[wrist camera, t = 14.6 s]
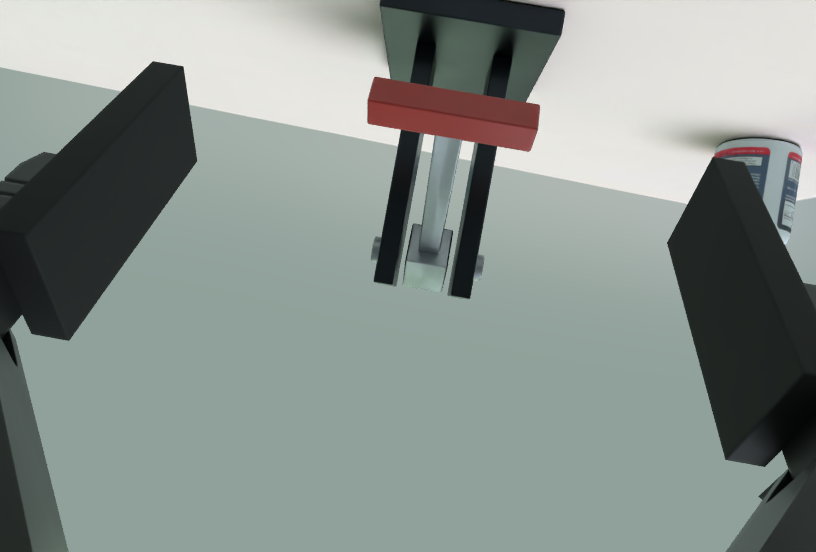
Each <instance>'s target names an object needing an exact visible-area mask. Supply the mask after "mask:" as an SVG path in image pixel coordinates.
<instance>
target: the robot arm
mask: <svg viewBox="0 0 816 552" xmlns="http://www.w3.org/2000/svg"><path fill="white" fill-rule="evenodd" d="M196 162H197V157H196V150H195V143H194V137H193V129H192V122H191V116H190V109H189V102H188V95H187V88H186V82H185V75H184V68H183V66H177V65H172V64H166V63H160V62H154V61H153V62H152V63H151V64H150V65H149V66H148V67H147V68H146V69H145V70H143V71H142V72H141V73H140V74H139V75H138V76H137V77H136V78H135V79H134V80H133V81H132V82H131V83H130V84H129V85H128V86H127V87H126V88H125V89H124V90H123V91H122V92H121V93H120V94H119V95H118V96H117V97H116V98H114V100H112V101H111V102H110V103H109V104H108V105H107V106H106V107H105V108H104V109H103V110H102V111H101V112H100V113H99V114H98V115H97V116H96V117H95V118H94V119H93V120H92V121H91V122H90V123H89V124H88V125H86V126H85V127H84V128H83V129H82V130H81V131H80V132H79V133H78V134H77V135H76V136H75V137H74V138H73V139H72V140H71V141H70V142H69V143H68V144H67V145H66V146H65V147H64V148H63V149H62V150H61V151H60V152H59V153H57V154H52V153H46V152H43V153H41V154H39V155H37V156H35V157H33V158H30V159H28V160H27V161H24V162H22V163H20V164H19V165H18V166H17V167H16V168H15V169H14V170H13V171H12V172H10V173H9V174H8V175H7V176H6V177H5V181H1V182H0V552H68V548H67V544H66V540H65V536H64V532H63V528H62V524H61V520H60V516H59V512H58V508H57V504H56V500H55V496H54V492H53V488H52V484H51V480H50V476H49V472H48V468H47V464H46V460H45V456H44V451H43V447H42V443H41V439H40V435H39V432H38V427H37V423H36V420H35V415H34V411H33V407H32V403H31V400H30V395H29V391H28V387H27V384H26V379H25V375H24V371H23V367H22V363H21V359H20V355H19V351H18V347H17V344H16V339H15V337H14V335H13V333H12V331H11V329H10V328H11V327H12V326H13V325H14V324H15V322H16V321H17V320H18V319H19V317H20V316H21V315H22V314H23V316H24V319H25V321H26V323H27V325H28V327H29V329H30V331H31V333H32V334H35V335H41V336H46V337H52V338H57V339H62V340H68V341H69V340H70V339H71V337H72V336H73V334H74V333H75V332H76V330H77V329H78V328H79V326H80V325H81V323H82V322H83V321H84V319H85V318H86V316H87V315H88V313H89V312H90V311H91V309H92V308H93V306H94V305H95V304H96V302H97V300H98V299H99V298H100V296H101V295H102V294H103V292H104V291H105V290H106V288H107V287H108V285H109V284H110V283H111V281H112V280H113V278H114V277H115V275H116V274H117V273H118V271H119V270H120V269H121V267H122V266H123V264H124V263H125V261H126V260H127V259H128V257H129V256H130V254H131V253H132V252H133V250H134V249H135V248H136V246H137V245H138V243H139V242H140V241H141V239H142V238H143V236H144V235H145V233H146V232H147V231H148V229H149V228H150V227H151V225H152V224H153V222H154V221H155V220H156V218H157V217H158V215H159V214H160V213H161V211H162V210H163V208H164V207H165V205H166V204H167V203H168V201H169V200H170V199H171V197H172V196H173V194H174V193H175V191H176V190H177V189H178V187H179V186H180V184H181V183H182V182H183V180H184V179H185V177H186V176H187V174H188V173H189V172H190V170H191V169H192V168H193V166H194V165H195V163H196ZM667 244H668V248H669V251H670V255H671V258H672V263H673V266H674V270H675V274H676V277H677V281H678V285H679V289H680V292H681V296H682V300H683V303H684V307H685V311H686V314H687V318H688V322H689V326H690V329H691V333H692V337H693V341H694V344H695V348H696V352H697V355H698V359H699V363H700V366H701V370H702V374H703V377H704V382H705V385H706V389H707V393H708V396H709V400H710V404H711V407H712V411H713V415H714V419H715V422H716V426H717V430H718V433H719V437H720V441H721V445H722V448H723V452H724V456H725V459H726V460H730V461H736V462H741V463H747V464H752V465H758V466H764V467H765V466H766V465H767V464H768V463H769V462H770V461H771V460H772V459H773V458H774V457H775V456H776V455H777V454H778V453H779V452H780V451H781V450H782V451H783V455H784V457H785V460H786V463H787V466H788V469H787V470H786V471H785V472H784V473H783V474H782V475H781V476H780V477H779V478H778V479H777V480H776V481H775V482H774V483H772V484H771V485H770V486H769V487H768V488H767V489H766V490H765V491H764V492H763V493H762V494H761V495H760V496H759V497H760V498H761V499H762V502H761V503H760V505H759V506H758V507H757V509H756V510H755V512H754V513H753V514H752V516H751V517H750V519H749V520H748V521H747V523H746V524H745V526H744V527H743V528H742V530H741V531H740V533H739V534H738V535H737V537H736V538H735V540H734V541H733V542H732V544H731V545H730V547H729V548H728V549H727V551H726V552H816V285H812V284H805V283H803V282H802V280H801V278H800V276H799V273H798V272H797V269H796V267H795V265H794V263H793V261H792V259H791V257H790V255H789V253H788V251H787V249H786V247H785V245H784V243H783V241H782V238H781V236H780V234H779V232H778V230H777V228H776V226H775V224H774V222H773V220H772V218H771V216H770V214H769V212H768V210H767V208H766V205H765V203H764V201H763V199H762V197H761V195H760V193H759V191H758V189H757V187H756V185H755V183H754V181H753V179H752V177H751V175H750V173H749V170H748V168H747V166H746V164H745V162H740V161H734V160H729V159H723V158H717V157H713V158H712V160H711V161H710V163H709V165H708V167H707V169H706V171H705V173H704V175H703V176H702V178H701V180H700V182H699V184H698V186H697V188H696V190H695V192H694V193H693V195H692V197H691V199H690V201H689V203H688V205H687V207H686V208H685V210H684V212H683V214H682V216H681V218H680V220H679V222H678V224H677V225H676V227H675V229H674V231H673V233H672V235H671V237H670V239H669V240H668V242H667Z"/></svg>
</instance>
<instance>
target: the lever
mask: <svg viewBox="0 0 816 552" xmlns="http://www.w3.org/2000/svg"><path fill="white" fill-rule="evenodd" d="M539 113H540V105H538V104H532V103H527V102H521V101H515V100H509V99H503V98H497V97H491V96H485V95H480V94H474V93H468V92H462V91H456V90H450V89H444V88H439V87H433V86H427V85H421V84H415V83H409V82H403V81H397V80H392V79H386V78H380V77H374V79H373V83H372V86H371V90H370V93H369V97H368V118H367V122H368V124H372V125H377V126H383V127H389V128H395V129H401V130H406V131H412V132H418V133H424V134H430V135H435V138H434V145H433V151H432V158H431V166H430V172H429V179H428V186H427V193H426V200H425V207H424V214H423V220H422V225H420V224H413V225H412V230H411V235H410V240H409V245H408V250H407V255H406V260H405V270H404V278H403V285H404V286H409V287H415V288H420V289H425V290H431V291H437V292H441V291H442V288H443V284H444V279H445V275H446V271H447V266H448V260H449V254H450V248H451V242H452V235H453V231H452V230H447V229H444V226H445V222H446V217H447V212H448V207H449V202H450V197H451V192H452V187H453V182H454V177H455V173H456V168H457V163H458V158H459V153H460V148H461V143H462V140H464V141H470V142H476V143H482V144H487V145H493V146H499V147H505V148H511V149H516V150H522V151H528V152H529V151H530V150H531V148H532V145H533V142H534V139H535V136H536V134H537V131H538V124H539Z"/></svg>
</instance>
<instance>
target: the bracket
mask: <svg viewBox="0 0 816 552" xmlns="http://www.w3.org/2000/svg"><path fill="white" fill-rule="evenodd" d="M380 11H381V18H382V25H383V31H384V38H385V45H386V52H387V58H388V65H389V72H390V78H391V79H392V80H397V81H403V82H409V83H415V84H421V85H427V86H433V87H439V88H444V89H450V90H456V91H462V92H468V93H474V94H480V95H485V96H491V97H497V98H503V99H509V100H515V101H521V102H526V100H527V99H528V97H529V95H530V93H531V91H532V89H533V87H534V85H535V83H536V82H537V80H538V78H539V76H540V74H541V72H542V70H543V68H544V67H545V65H546V63H547V61H548V59H549V57H550V55H551V53H552V52H553V50H554V48H555V46H556V44H557V42H558V40H559V38H560V37H561V34H562V28H563V23H564V17H565V11H561V10H555V9H549V8H543V7H537V6H531V5H525V4H519V3H513V2H507V1H501V0H380ZM423 136H424V133H418V132H412V131H406V130H401V133H400V138H399V144H398V150H397V155H396V160H395V166H394V171H393V177H392V182H391V188H390V193H389V199H388V204H387V210H386V215H385V221H384V226H383V232H382V237H375V239H374V243H373V248H372V255H371V261H372V262H377V265H376V270H375V276H374V282H376V283H379V284H384V285H390V286H396V285H397V279H398V273H399V268H400V262H401V257H402V251H403V246H404V241H405V235H406V230H407V224H408V218H409V213H410V208H411V201H412V197H413V191H414V186H415V180H416V174H417V169H418V163H419V158H420V152H421V147H422V141H423ZM496 150H497V146H493V145H487V144H482V143H476V142H475V143H474V149H473V154H472V160H471V166H470V171H469V177H468V182H467V188H466V194H465V199H464V205H463V210H462V216H461V222H460V227H459V233H458V239H457V245H456V250H455V256H454V261H453V267H452V272H451V278H450V283H449V289H448V296H451V297H456V298H462V299H470V296H471V290H472V285H473V280H478V281H479V280H480V278H481V275H482V270H483V264H484V256H483V255H478V250H479V245H480V240H481V234H482V229H483V223H484V217H485V212H486V206H487V200H488V195H489V189H490V183H491V178H492V172H493V167H494V161H495V155H496Z"/></svg>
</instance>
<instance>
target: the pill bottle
mask: <svg viewBox="0 0 816 552" xmlns="http://www.w3.org/2000/svg"><path fill="white" fill-rule="evenodd" d="M714 157H717V158H723V159H729V160H734V161H740V162H745V164H746V166H747V168H748V170H749V173H750V175H751V177H752V179H753V181H754V183H755V185H756V187H757V189H758V191H759V193H760V195H761V197H762V199H763V201H764V203H765V205H766V208H767V210H768V212H769V214H770V216H771V218H772V220H773V222H774V224H775V226H776V228H777V230H778V232H779V234H780V236H781V238H782V241H783V243H784V245H785V244H786V243H787V242H788V240H789V237H790V233H791V227H792V221H793V214H794V208H795V202H796V195H797V189H798V182H799V176H800V169H801V162H802V150H801V149H800V148H799V147H798V146H796V145H794V144H791V143H788V142H784V141H779V140H772V139H755V138H754V139H738V140H732V141H728V142H725V143H723V144H721V145H719V146H718V147H717V149H716V151H715V156H714Z"/></svg>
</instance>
